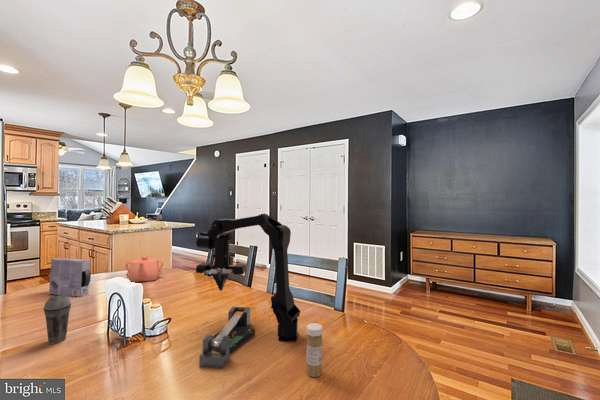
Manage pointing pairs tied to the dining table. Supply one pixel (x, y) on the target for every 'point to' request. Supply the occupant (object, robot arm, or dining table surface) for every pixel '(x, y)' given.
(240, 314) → the long grey bar
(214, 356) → the bracket
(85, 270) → the cake pan box
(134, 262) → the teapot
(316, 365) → the sprinkles bottle
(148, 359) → the dining table surface
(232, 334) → the disk drive
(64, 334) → the beverage cup
